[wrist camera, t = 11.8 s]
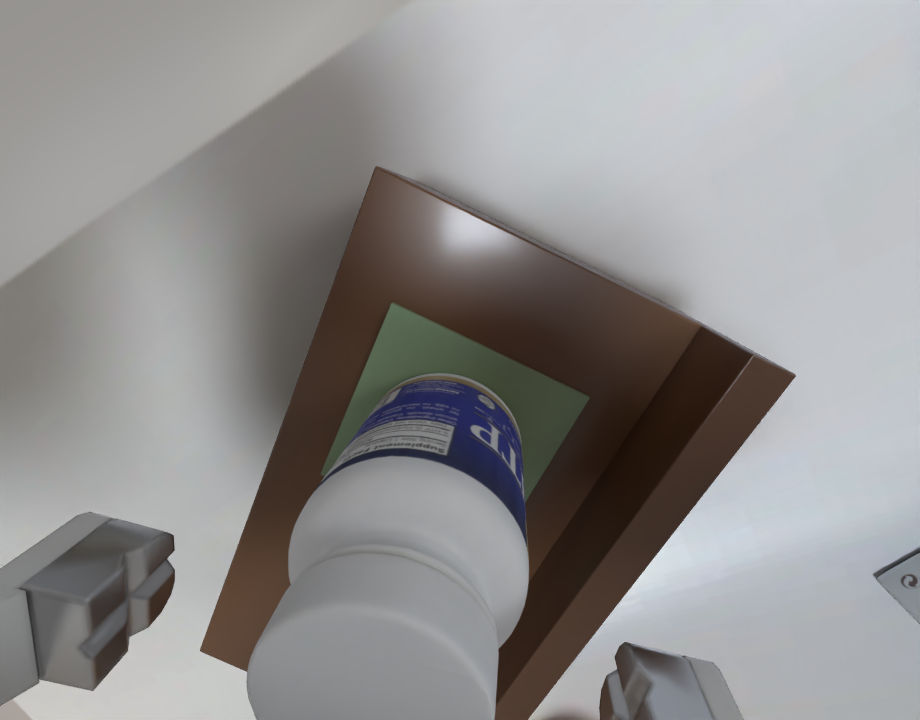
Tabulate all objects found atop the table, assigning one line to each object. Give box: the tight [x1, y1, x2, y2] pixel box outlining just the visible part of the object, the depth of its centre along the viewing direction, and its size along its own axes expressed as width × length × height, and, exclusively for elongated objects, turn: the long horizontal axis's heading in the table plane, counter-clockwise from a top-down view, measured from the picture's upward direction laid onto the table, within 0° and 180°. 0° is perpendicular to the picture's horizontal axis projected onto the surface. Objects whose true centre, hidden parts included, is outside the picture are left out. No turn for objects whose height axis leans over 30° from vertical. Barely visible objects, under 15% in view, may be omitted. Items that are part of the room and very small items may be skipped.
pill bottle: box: [247, 373, 529, 720], centre depth 11 cm, size 5×5×9 cm
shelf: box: [200, 166, 796, 720], centre depth 18 cm, size 12×22×9 cm, turn 155°
